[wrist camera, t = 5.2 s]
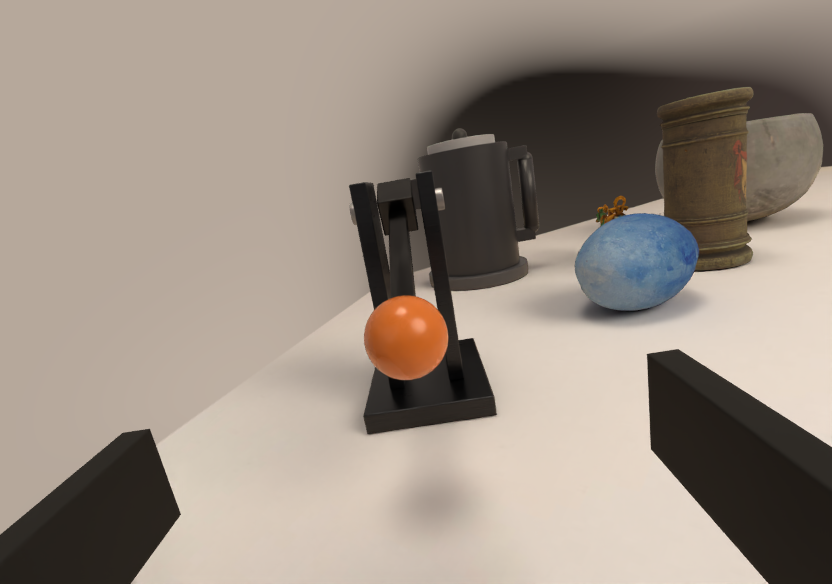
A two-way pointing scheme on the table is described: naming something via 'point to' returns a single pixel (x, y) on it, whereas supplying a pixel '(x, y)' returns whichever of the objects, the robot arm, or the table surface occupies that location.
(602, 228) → the egg
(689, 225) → the container
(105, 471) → the robot arm
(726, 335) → the table surface
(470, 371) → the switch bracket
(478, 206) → the kettle
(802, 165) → the bowl
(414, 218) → the switch
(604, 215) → the figurine
